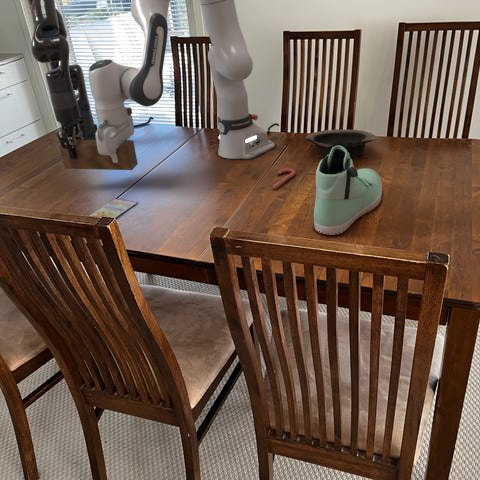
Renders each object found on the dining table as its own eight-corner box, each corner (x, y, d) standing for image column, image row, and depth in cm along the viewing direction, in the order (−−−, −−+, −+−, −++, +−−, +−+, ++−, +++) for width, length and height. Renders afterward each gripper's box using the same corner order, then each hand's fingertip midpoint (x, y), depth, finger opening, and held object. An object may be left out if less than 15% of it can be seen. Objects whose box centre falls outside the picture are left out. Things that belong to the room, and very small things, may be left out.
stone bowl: (333, 173, 159) (333, 147, 155) (293, 156, 179) (291, 132, 175) (391, 155, 168) (392, 129, 164) (346, 141, 188) (345, 118, 184)
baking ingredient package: (82, 218, 143) (114, 198, 155) (83, 220, 144) (114, 199, 155) (105, 223, 140) (136, 202, 151) (106, 224, 140) (136, 203, 151)
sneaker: (389, 187, 148) (396, 123, 138) (356, 242, 123) (361, 168, 112) (346, 181, 154) (350, 119, 144) (306, 232, 129) (307, 161, 118)
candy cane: (259, 187, 155) (259, 183, 155) (283, 170, 165) (283, 166, 165) (275, 190, 152) (275, 186, 151) (298, 173, 162) (298, 169, 162)
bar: (65, 168, 160) (58, 145, 155) (73, 162, 164) (66, 139, 160) (131, 170, 155) (126, 145, 150) (137, 164, 159) (133, 140, 155)
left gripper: (64, 111, 143) (78, 164, 152) (86, 98, 155) (98, 147, 164) (42, 111, 145) (56, 164, 154) (66, 98, 157) (78, 147, 166)
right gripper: (106, 127, 140) (116, 170, 147) (133, 106, 157) (141, 146, 164) (86, 127, 141) (97, 170, 148) (115, 106, 158) (124, 146, 165)
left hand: (78, 155), depth 159 cm, fingers closed on bar, 5 cm apart
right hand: (120, 157), depth 156 cm, fingers closed on bar, 5 cm apart
